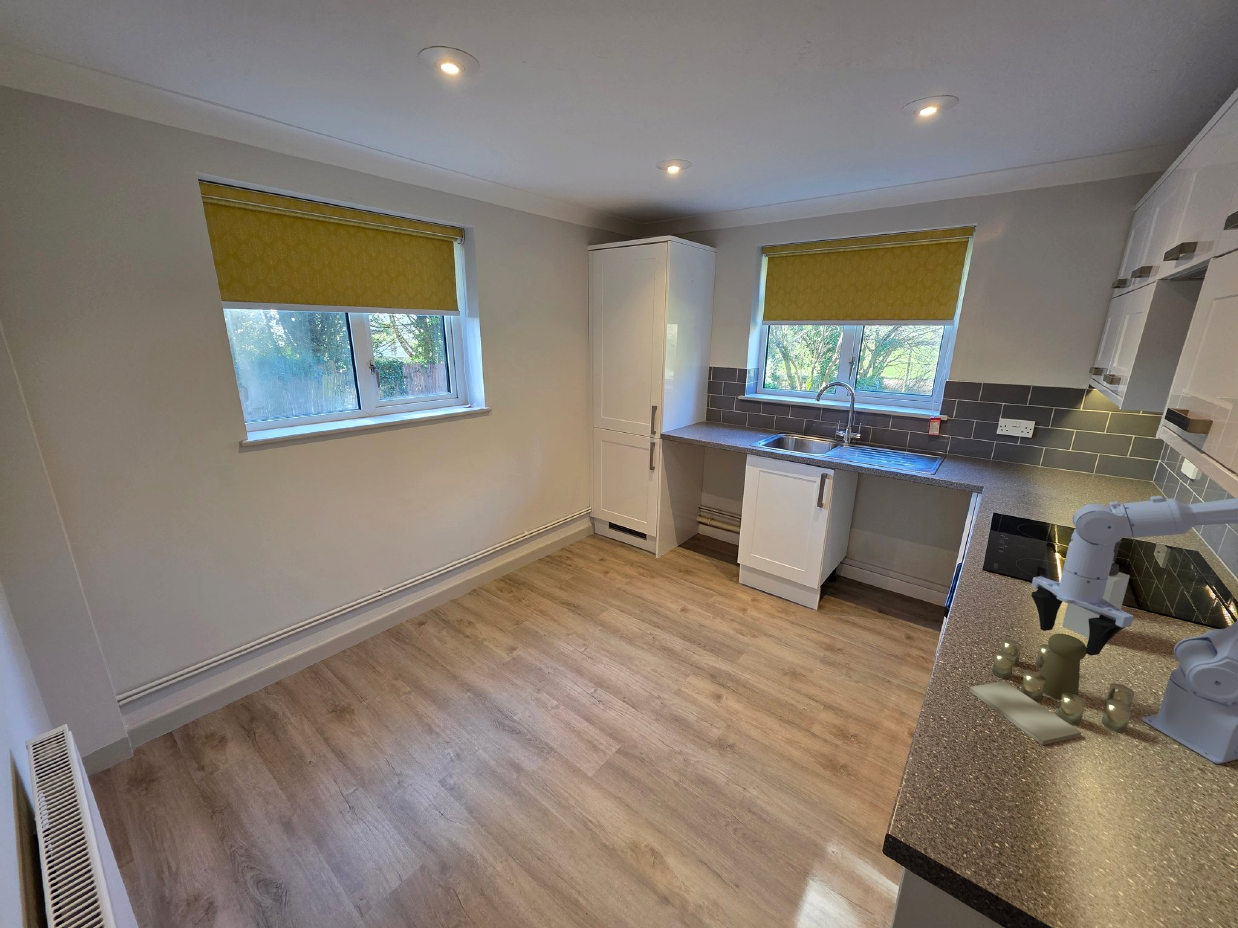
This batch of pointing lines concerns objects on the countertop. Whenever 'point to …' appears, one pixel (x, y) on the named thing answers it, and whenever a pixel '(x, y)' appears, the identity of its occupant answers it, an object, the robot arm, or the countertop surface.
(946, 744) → the countertop surface
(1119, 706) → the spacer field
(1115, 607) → the robot arm
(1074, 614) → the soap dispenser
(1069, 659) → the cork
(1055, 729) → the pale grey metal board
